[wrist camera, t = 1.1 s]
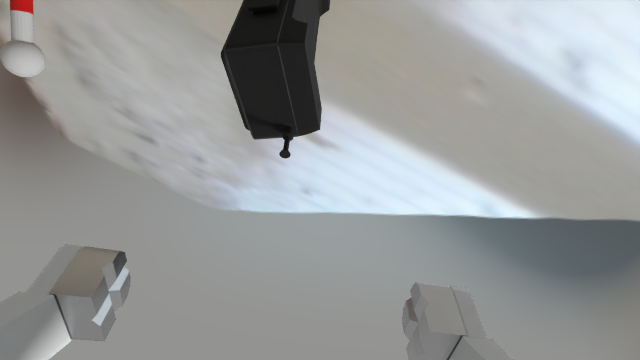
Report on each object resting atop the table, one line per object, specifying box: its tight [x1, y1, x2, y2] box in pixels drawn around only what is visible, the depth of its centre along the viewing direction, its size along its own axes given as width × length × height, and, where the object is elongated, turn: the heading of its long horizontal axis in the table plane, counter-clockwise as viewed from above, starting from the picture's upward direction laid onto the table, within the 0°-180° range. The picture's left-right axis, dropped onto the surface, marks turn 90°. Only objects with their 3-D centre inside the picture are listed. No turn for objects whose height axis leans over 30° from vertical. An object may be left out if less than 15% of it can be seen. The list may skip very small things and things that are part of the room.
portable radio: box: [221, 0, 330, 158], centre depth 32 cm, size 8×6×25 cm
